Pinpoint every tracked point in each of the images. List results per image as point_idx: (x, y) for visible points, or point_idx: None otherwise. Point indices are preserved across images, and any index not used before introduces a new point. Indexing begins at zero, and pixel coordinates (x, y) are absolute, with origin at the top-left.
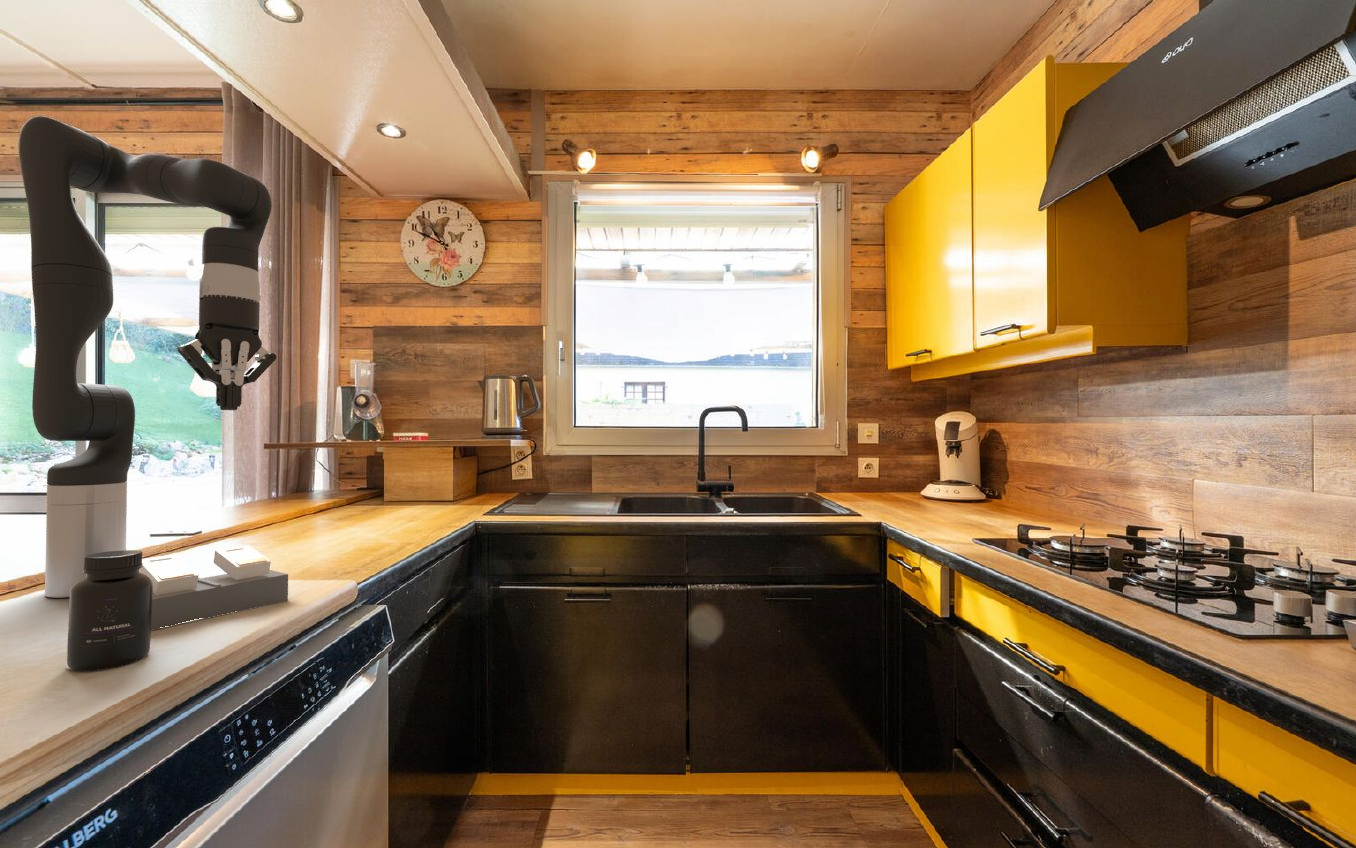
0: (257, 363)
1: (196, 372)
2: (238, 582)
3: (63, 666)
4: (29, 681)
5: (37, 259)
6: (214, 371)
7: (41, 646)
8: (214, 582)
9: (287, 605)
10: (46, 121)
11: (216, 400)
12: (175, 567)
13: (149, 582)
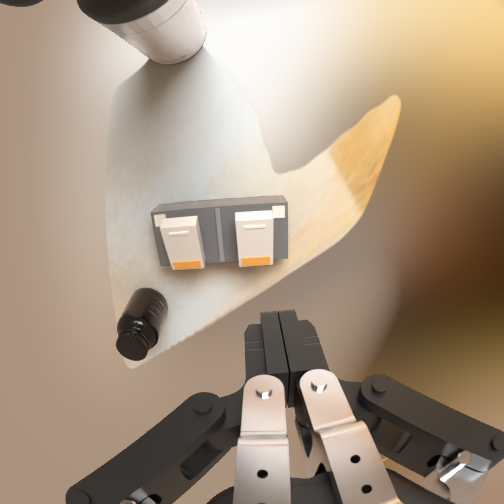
0: (424, 458)
1: (162, 420)
2: None
3: (130, 291)
4: (119, 303)
5: None
6: (220, 458)
7: (119, 233)
8: (223, 249)
9: (275, 262)
10: None
11: (245, 340)
12: (188, 250)
13: (155, 344)
